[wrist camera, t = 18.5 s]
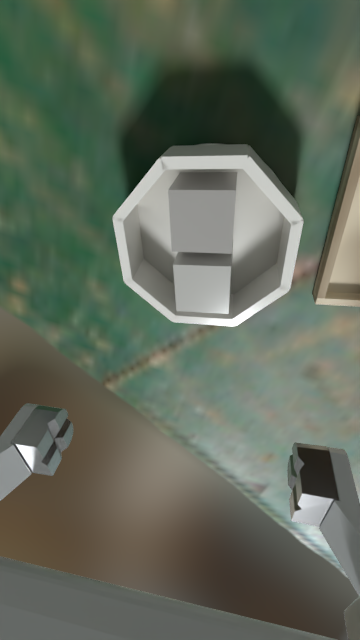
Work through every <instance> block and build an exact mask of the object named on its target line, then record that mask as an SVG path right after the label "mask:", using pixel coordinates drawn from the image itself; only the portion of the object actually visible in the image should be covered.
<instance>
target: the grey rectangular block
mask: <svg viewBox="0 0 360 640" xmlns="http://www.w3.org/2000/svg"><path fill="white" fill-rule="evenodd" d="M236 186H237V172H180V173H179V175H178V176H177V178H176V179H175V180H174V182H173V183H172V185H171V186H170V188H169V189H168V197H169V213H170V230H171V247H172V252H196V253H223V254H232V242H233V230H234V216H235V201H236Z"/></svg>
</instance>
